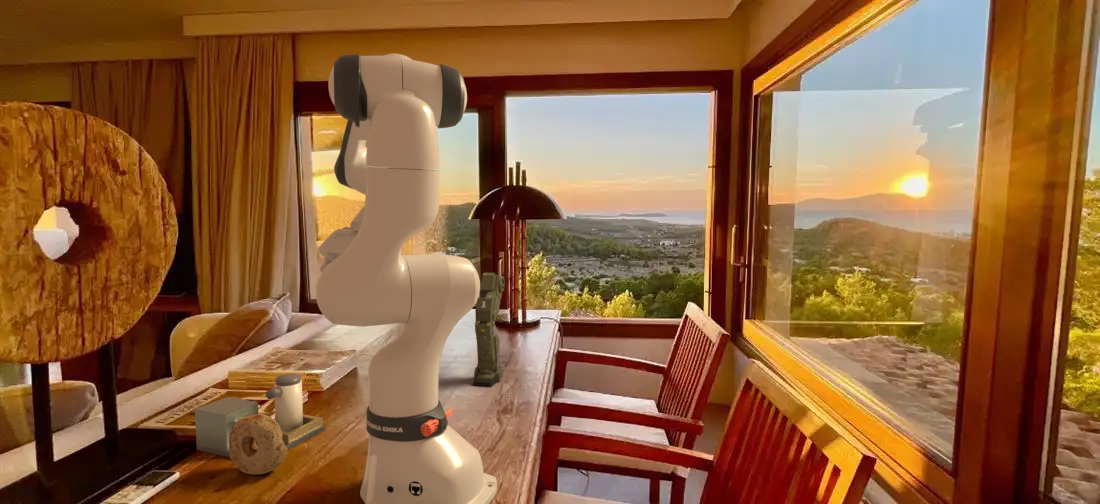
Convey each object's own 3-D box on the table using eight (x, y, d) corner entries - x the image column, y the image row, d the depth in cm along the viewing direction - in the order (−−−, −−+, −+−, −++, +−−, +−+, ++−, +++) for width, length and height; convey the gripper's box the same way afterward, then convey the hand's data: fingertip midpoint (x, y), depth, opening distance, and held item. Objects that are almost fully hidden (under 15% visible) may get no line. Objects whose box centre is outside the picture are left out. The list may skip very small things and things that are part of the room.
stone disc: (224, 473, 94) (222, 417, 93) (241, 463, 98) (239, 410, 97) (274, 481, 91) (272, 424, 90) (290, 471, 95) (288, 416, 94)
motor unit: (325, 429, 112) (324, 392, 111) (259, 464, 97) (258, 421, 96) (267, 418, 118) (265, 383, 117) (196, 449, 103) (194, 409, 102)
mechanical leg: (490, 389, 135) (499, 270, 140) (463, 386, 137) (472, 269, 141) (505, 384, 149) (512, 276, 153) (480, 382, 150) (488, 275, 154)
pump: (308, 427, 111) (307, 375, 110) (280, 441, 104) (278, 386, 103) (289, 423, 113) (288, 372, 112) (260, 437, 106) (259, 383, 105)
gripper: (333, 218, 131) (298, 261, 124) (393, 220, 121) (359, 268, 114) (349, 235, 136) (316, 278, 128) (408, 239, 125) (376, 286, 118)
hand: (337, 273), depth 121 cm, fingers open, 8 cm apart
